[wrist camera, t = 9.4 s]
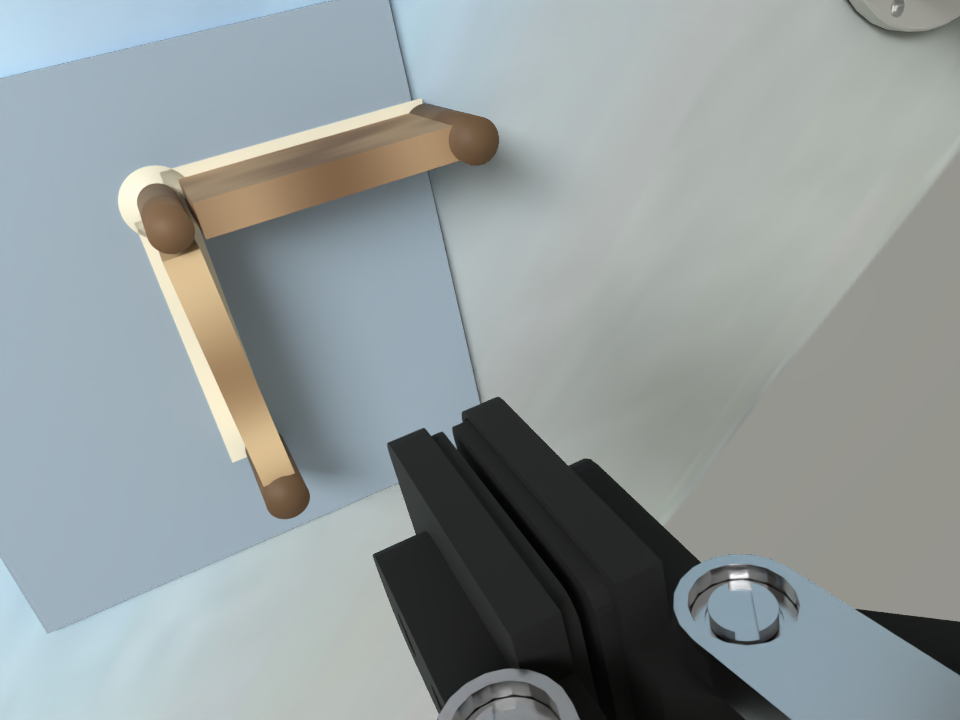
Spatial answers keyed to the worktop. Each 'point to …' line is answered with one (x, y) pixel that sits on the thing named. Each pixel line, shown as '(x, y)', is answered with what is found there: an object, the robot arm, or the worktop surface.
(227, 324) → the fence panel
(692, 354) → the worktop surface
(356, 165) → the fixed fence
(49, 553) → the card
